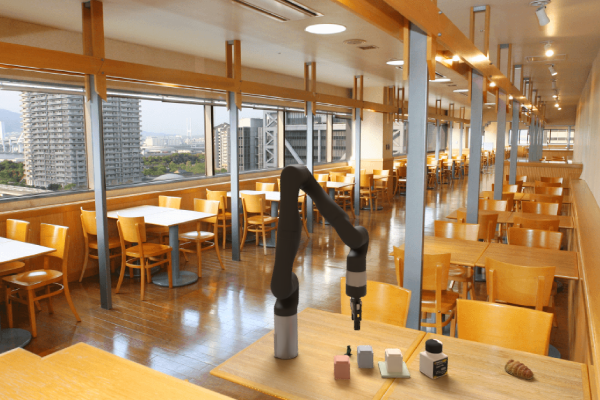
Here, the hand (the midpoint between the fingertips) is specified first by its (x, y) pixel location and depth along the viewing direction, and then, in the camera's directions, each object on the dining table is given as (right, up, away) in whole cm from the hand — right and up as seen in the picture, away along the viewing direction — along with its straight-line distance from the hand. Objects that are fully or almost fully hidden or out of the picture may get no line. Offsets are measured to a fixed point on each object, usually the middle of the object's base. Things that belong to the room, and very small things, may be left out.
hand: (355, 325), depth 164 cm
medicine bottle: (+28, -17, -1) cm, 33 cm away
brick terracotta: (-5, -18, -1) cm, 19 cm away
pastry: (+58, -17, -2) cm, 61 cm away
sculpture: (-2, -16, +14) cm, 21 cm away
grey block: (+4, -17, +6) cm, 18 cm away
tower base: (+14, -17, +1) cm, 22 cm away
